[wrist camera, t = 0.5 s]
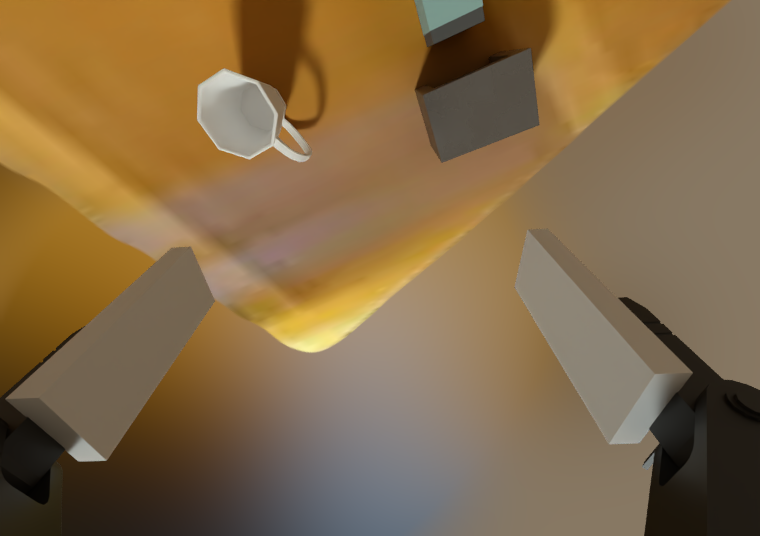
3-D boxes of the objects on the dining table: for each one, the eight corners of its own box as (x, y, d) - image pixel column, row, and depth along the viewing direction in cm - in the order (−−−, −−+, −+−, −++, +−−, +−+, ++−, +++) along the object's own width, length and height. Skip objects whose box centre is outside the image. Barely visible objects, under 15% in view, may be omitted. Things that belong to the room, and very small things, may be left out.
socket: (414, 89, 33) (422, 95, 27) (501, 51, 31) (530, 47, 25) (431, 146, 36) (441, 162, 30) (510, 114, 34) (539, 124, 28)
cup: (252, 50, 31) (216, 45, 24) (334, 123, 34) (323, 137, 28) (220, 110, 34) (180, 121, 27) (299, 172, 37) (281, 195, 30)
